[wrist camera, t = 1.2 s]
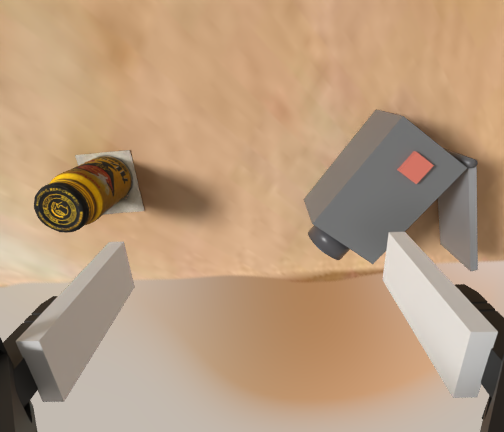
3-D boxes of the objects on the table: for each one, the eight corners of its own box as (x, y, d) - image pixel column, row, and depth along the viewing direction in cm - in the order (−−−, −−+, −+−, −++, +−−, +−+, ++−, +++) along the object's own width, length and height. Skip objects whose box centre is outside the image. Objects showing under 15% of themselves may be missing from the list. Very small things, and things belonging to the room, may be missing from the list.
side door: (433, 147, 40) (467, 160, 33) (446, 144, 39) (482, 156, 33) (439, 244, 45) (469, 271, 38) (450, 241, 44) (482, 268, 38)
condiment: (130, 149, 41) (81, 174, 30) (144, 210, 44) (106, 253, 33) (76, 154, 42) (8, 181, 30) (94, 214, 45) (39, 258, 34)
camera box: (375, 109, 38) (405, 116, 30) (429, 152, 40) (471, 170, 32) (291, 214, 44) (297, 244, 36) (342, 248, 46) (359, 283, 38)
